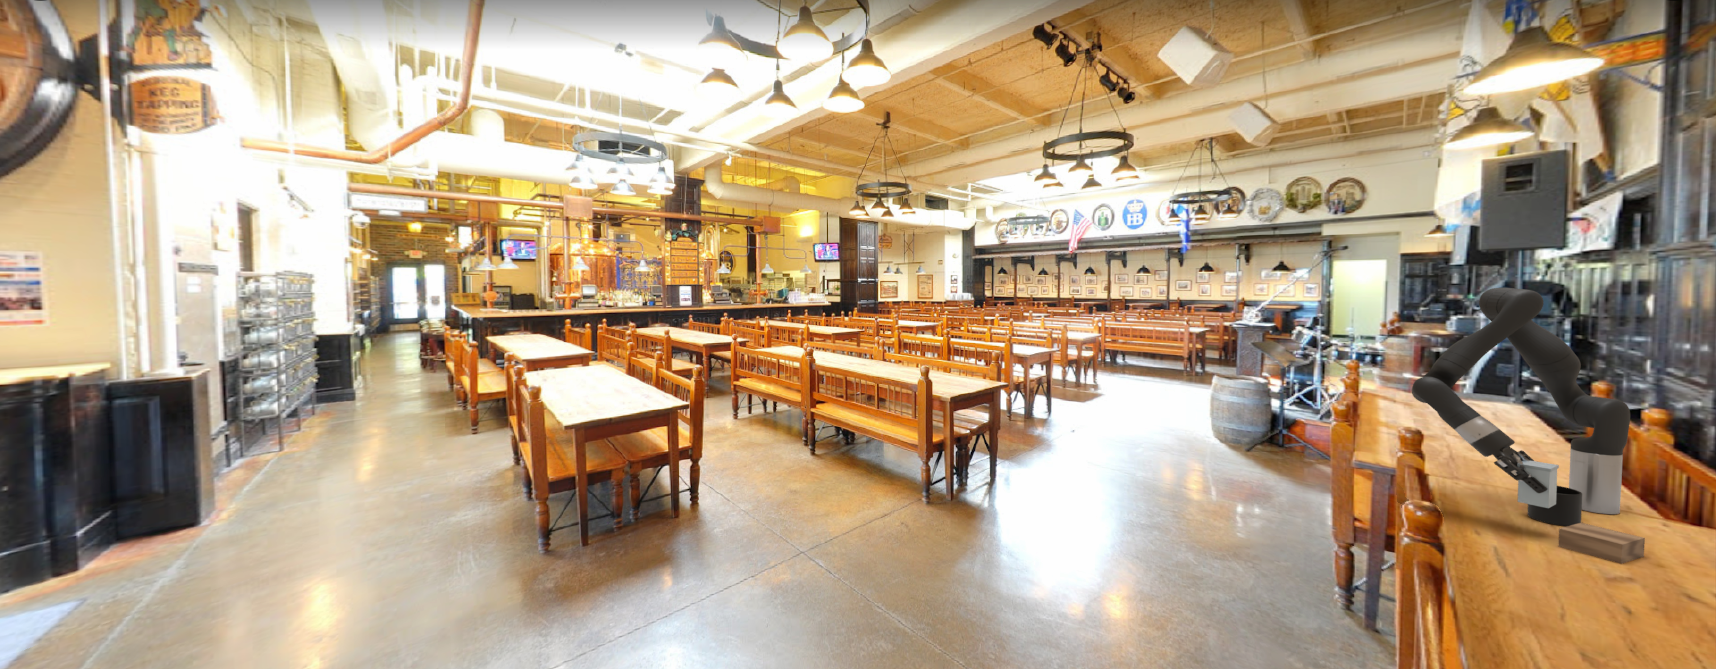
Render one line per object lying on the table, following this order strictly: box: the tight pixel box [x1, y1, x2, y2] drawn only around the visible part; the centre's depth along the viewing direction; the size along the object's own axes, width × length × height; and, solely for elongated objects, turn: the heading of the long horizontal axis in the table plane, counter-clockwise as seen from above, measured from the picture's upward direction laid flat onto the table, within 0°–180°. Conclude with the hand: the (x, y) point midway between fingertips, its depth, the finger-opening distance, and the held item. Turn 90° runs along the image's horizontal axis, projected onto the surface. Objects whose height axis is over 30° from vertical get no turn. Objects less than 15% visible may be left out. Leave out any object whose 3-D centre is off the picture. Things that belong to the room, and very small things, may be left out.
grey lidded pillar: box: [1517, 460, 1560, 508], centre depth 148 cm, size 6×6×11 cm
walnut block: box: [1557, 522, 1646, 565], centre depth 138 cm, size 10×10×5 cm
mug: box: [1527, 485, 1583, 527], centre depth 158 cm, size 9×12×9 cm
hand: (1547, 489), depth 147 cm, fingers closed on grey lidded pillar, 5 cm apart
